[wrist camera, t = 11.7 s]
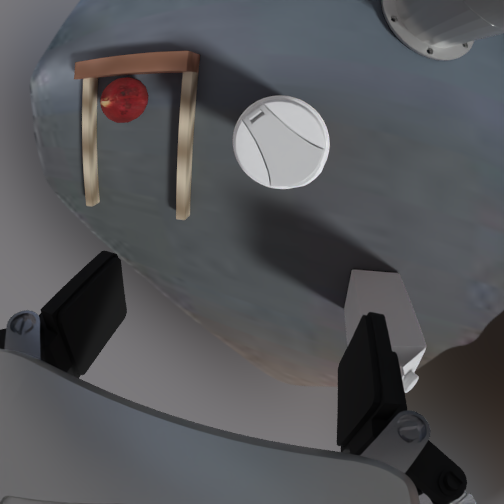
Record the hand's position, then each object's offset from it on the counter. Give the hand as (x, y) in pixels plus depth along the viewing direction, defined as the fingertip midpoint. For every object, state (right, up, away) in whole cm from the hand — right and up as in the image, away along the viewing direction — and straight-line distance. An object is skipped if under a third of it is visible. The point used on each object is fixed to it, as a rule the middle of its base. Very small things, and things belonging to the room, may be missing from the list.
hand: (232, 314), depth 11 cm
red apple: (-14, +22, +24) cm, 36 cm away
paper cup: (+5, +17, +24) cm, 29 cm away
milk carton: (+18, -3, +32) cm, 36 cm away
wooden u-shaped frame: (-15, +17, +27) cm, 35 cm away
